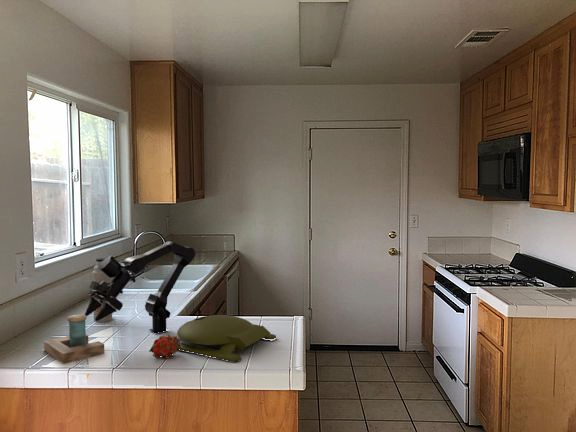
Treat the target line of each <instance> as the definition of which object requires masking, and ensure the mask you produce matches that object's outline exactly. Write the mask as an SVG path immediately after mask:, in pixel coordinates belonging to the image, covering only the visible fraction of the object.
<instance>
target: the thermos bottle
mask: <svg viewBox="0 0 576 432" xmlns="http://www.w3.org/2000/svg"><path fill="white" fill-rule="evenodd" d="M106 258H107V257H106ZM106 258H101V257H100V258H96V259H95V265H94V267H93V271H92V280H93V281H96V282H99V283H100V282H101V281H104V282H110V281H111V280H112V277H111V278H109V277H108V276H106V275H105V274H104V273H103V272H102V271H100V270H99V269H98V266H99V264H100V263H101V261H103V260H104V259H106ZM101 304H102V306H100V307H99V308H98V309H96V310H95V311H94V312H93V321H95V322H99V323H100V322H107V321H112V319H113V313H112V314H110V315H108V316H106V317H104V318H102V319H100V320H98V321H96V320H95V318H96V316H97V315H98V313H99V312H100V310H101V309H102V307H103V303H101Z"/></svg>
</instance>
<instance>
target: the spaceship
mask: <svg viewBox="0 0 576 432" xmlns="http://www.w3.org/2000/svg"><path fill="white" fill-rule="evenodd" d="M176 335H177V336H176V337H177V338H178V339H179V340H180V341H181V340H182V341H183V342H181V343H180V348H179V349H180V350H184V351H189V352H194V353H198V354H203V355H207V356H211V357H216V358H219V359H224V360H228V361H227V362H229V361H238V362H240V361H241V360H242V356H241V354H238V353H234V352H240V351H242V350H245V348H247V347H249V346H251V345H253V344H255V343H256V342H258V341H260V339H262V338H265V339H274V338H276V336H277V335H276V334H273V333H271V331H269V330H268V329H267V328H266V327H265V326H264V325H258V324H253V323H251V322H250V321H249V320H247V319H245V318H243V317H239V316H234V315H228V314H227V315H226V314H213V315H212V314H211V315H205V316H204V315H203V316H201V317H197V318H193V320H189V321H186V322H185V323H184V324H181V326H180V327H179V328H178V329H177V332H176ZM201 345H203V346H201ZM205 345H206V347H205ZM207 345H208V346H209V345H210V346H215V345H216V346H217V345H220V349H214V348H209V347H207ZM219 359H218V360H219ZM224 360H223V361H224ZM239 360H240V361H239Z"/></svg>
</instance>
